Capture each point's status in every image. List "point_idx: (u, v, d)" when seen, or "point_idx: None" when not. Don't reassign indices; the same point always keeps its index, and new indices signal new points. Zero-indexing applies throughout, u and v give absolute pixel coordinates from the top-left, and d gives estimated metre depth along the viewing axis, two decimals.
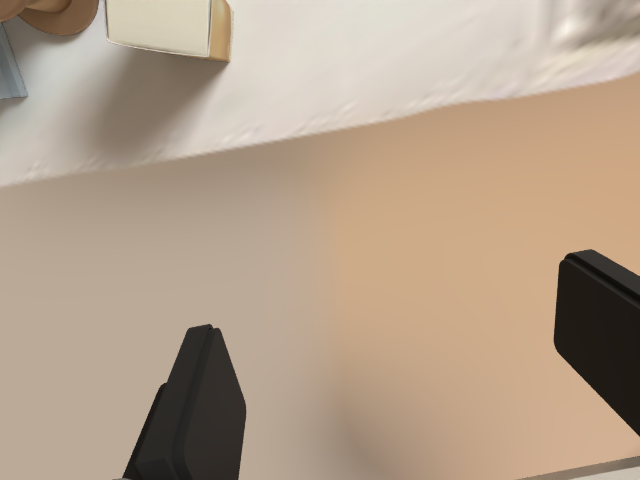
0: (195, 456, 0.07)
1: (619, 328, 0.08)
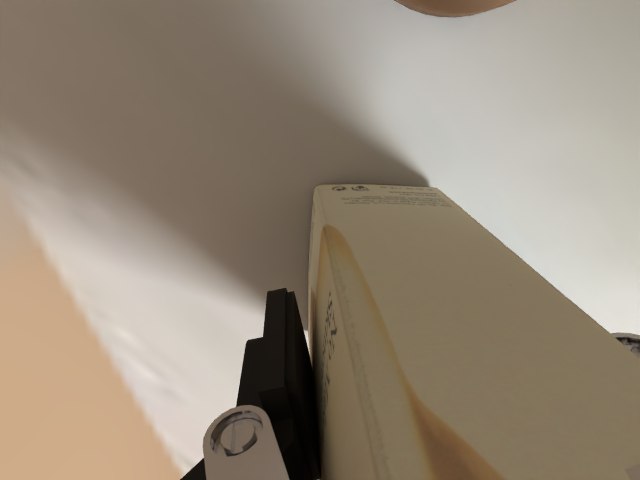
0: (300, 391, 0.08)
1: None
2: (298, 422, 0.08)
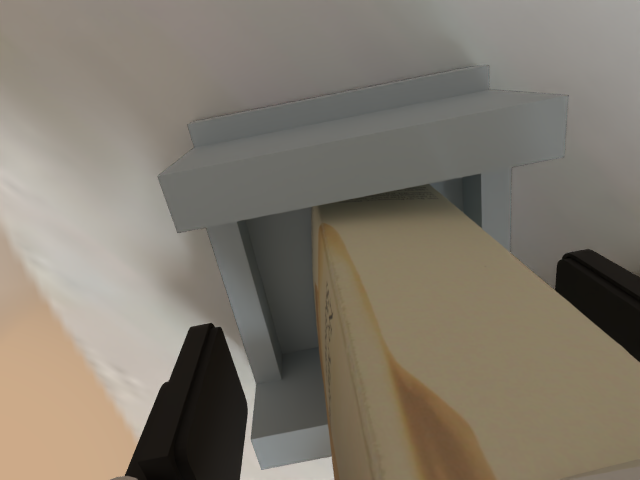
0: (197, 454, 0.07)
1: (617, 327, 0.08)
2: None
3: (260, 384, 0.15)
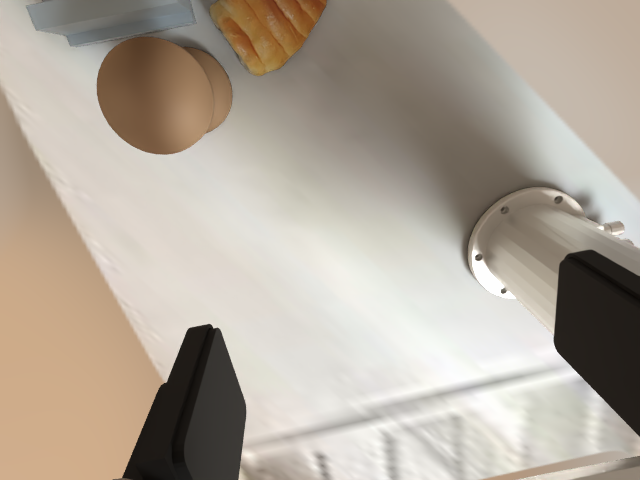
0: (195, 456, 0.07)
1: (619, 328, 0.08)
2: None
3: None
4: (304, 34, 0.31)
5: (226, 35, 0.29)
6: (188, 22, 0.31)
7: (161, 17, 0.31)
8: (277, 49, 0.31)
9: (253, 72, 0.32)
